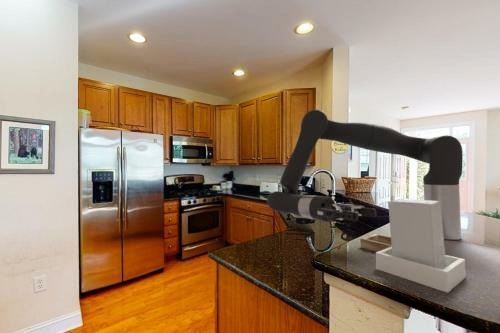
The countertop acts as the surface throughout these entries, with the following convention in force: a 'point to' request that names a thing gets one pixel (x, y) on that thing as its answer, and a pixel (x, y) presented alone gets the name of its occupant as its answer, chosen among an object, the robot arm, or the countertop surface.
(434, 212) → the skincare box
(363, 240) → the holder
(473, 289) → the countertop surface
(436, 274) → the tray
